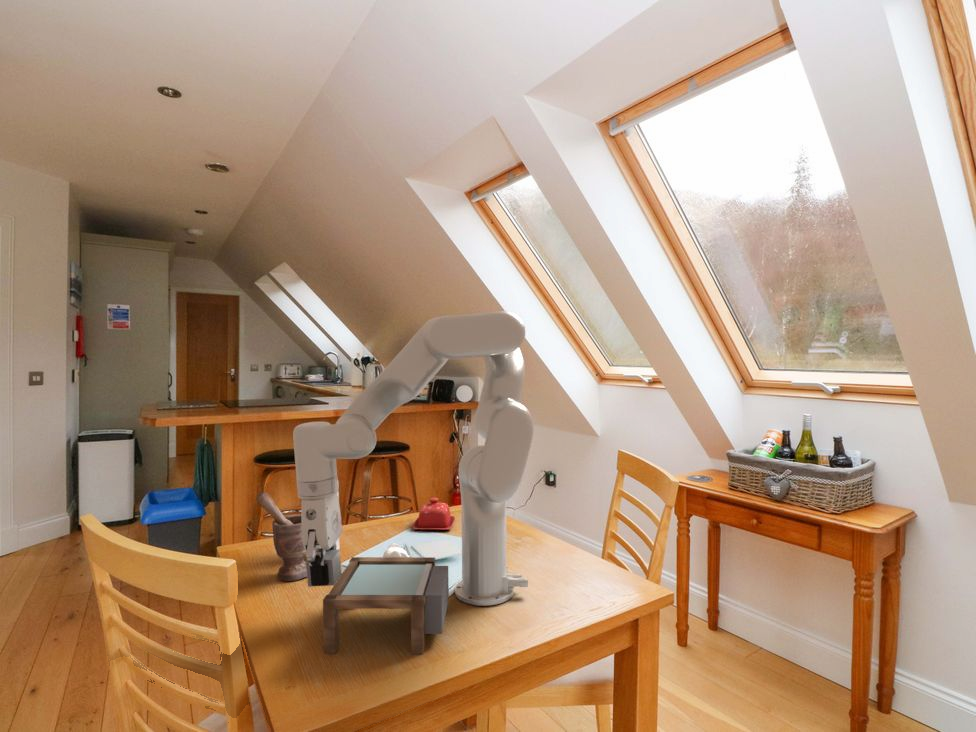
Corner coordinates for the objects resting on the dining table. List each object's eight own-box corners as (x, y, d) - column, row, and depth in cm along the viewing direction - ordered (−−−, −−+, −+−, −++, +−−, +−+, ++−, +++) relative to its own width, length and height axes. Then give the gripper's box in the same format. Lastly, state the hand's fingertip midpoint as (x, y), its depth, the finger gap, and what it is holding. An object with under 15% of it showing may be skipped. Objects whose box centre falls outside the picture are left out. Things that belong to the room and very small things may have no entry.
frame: (435, 602, 115) (435, 557, 115) (423, 654, 96) (422, 600, 96) (352, 602, 115) (352, 557, 115) (323, 653, 96) (322, 599, 96)
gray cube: (341, 573, 110) (339, 549, 110) (334, 585, 105) (332, 559, 105) (316, 575, 111) (314, 550, 110) (308, 586, 106) (305, 561, 105)
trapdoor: (449, 598, 113) (448, 563, 112) (441, 636, 98) (441, 596, 98) (360, 597, 113) (360, 563, 113) (340, 635, 98) (339, 596, 98)
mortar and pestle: (262, 589, 122) (260, 499, 121) (256, 575, 129) (254, 490, 128) (316, 578, 127) (314, 491, 126) (308, 565, 135) (306, 483, 134)
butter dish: (411, 532, 158) (410, 503, 158) (418, 519, 169) (418, 492, 169) (451, 533, 157) (451, 503, 157) (456, 520, 169) (455, 492, 168)
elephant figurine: (378, 568, 133) (377, 543, 133) (411, 564, 135) (411, 540, 135) (380, 579, 126) (380, 553, 126) (415, 575, 128) (415, 550, 128)
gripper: (323, 498, 98) (330, 598, 99) (349, 474, 115) (355, 559, 116) (281, 501, 98) (289, 600, 100) (313, 475, 115) (320, 561, 117)
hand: (324, 577), depth 108 cm, fingers closed on gray cube, 5 cm apart
